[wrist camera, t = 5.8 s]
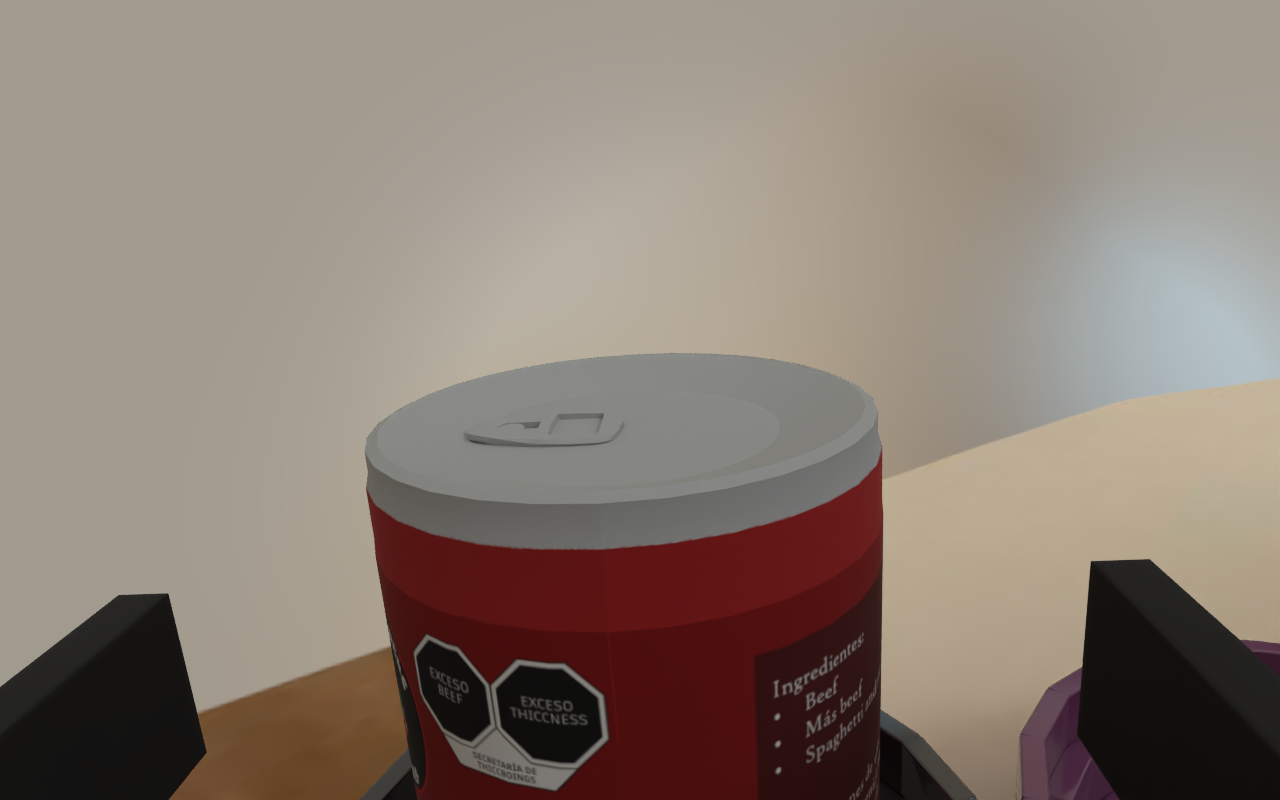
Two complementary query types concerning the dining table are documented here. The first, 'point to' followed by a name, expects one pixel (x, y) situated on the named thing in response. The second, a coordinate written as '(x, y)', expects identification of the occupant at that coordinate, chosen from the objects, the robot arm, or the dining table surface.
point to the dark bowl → (908, 784)
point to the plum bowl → (1074, 743)
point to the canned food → (635, 581)
